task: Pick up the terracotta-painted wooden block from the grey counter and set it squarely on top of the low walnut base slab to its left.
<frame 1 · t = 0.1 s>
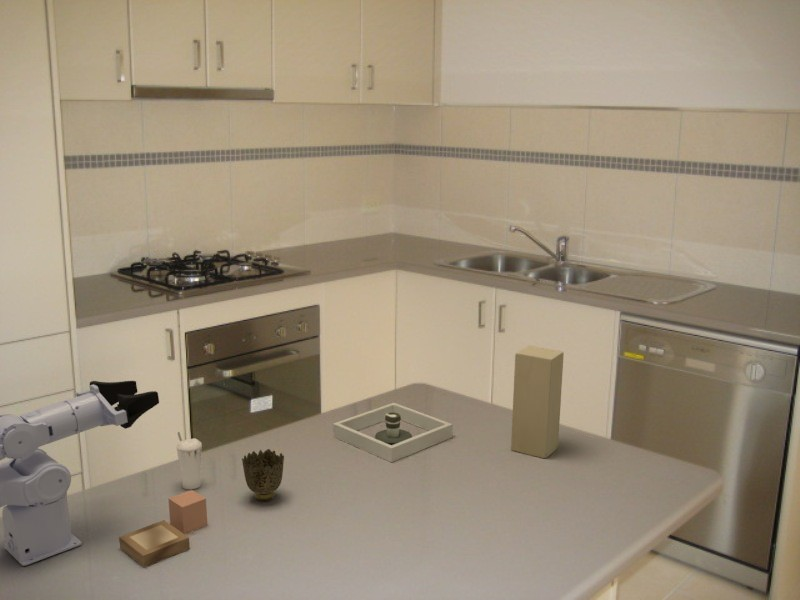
hand: (146, 391, 146), 22 cm above the countertop, tool horizontal, fingers open, 7 cm apart
block: (188, 525, 145), on the countertop
toy refrigerator: (535, 449, 176), on the countertop
base slab: (154, 548, 137), on the countertop
milkshake: (190, 486, 160), on the countertop
cup: (264, 499, 154), on the countertop
cup tray: (392, 437, 182), on the countertop
coffee cup: (392, 437, 182), resting in cup tray
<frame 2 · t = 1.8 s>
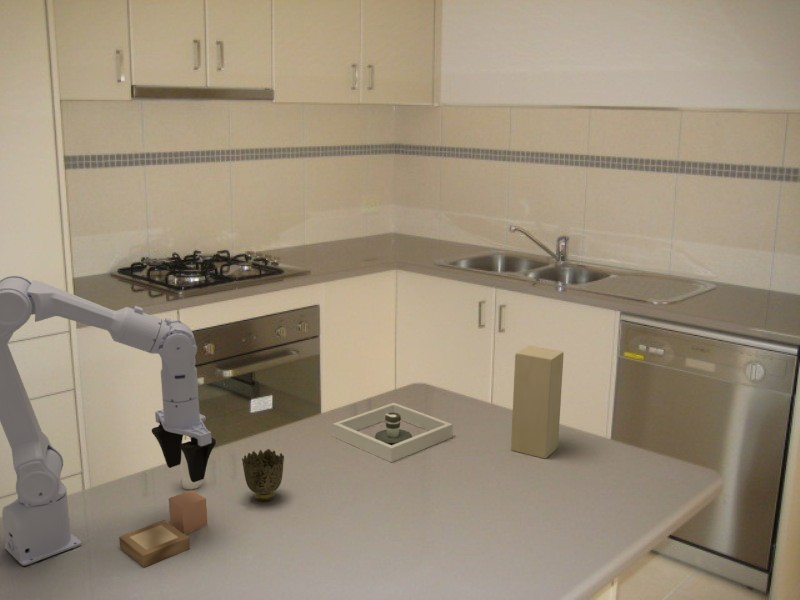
hand: (185, 472, 143), 10 cm above the countertop, tool pointing down, fingers open, 7 cm apart
nothing on the countertop moved.
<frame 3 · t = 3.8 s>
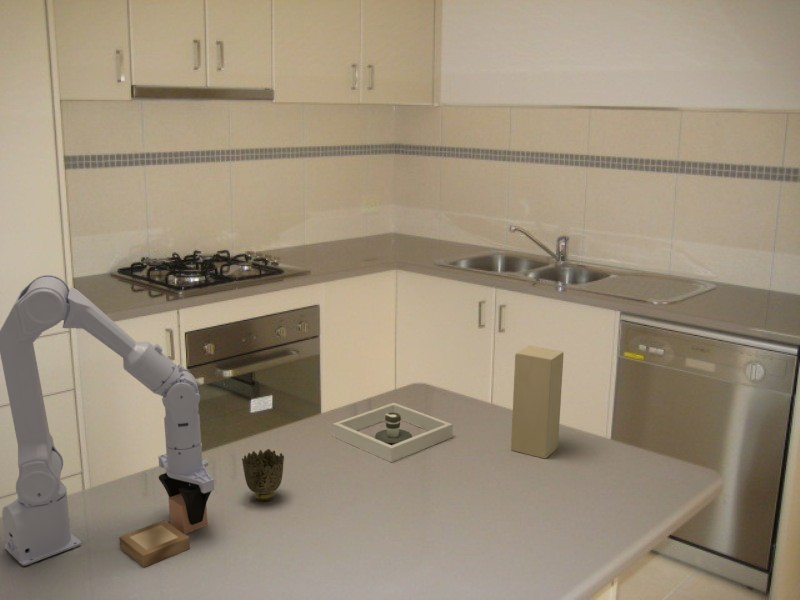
hand: (188, 517, 145), 1 cm above the countertop, tool pointing down, fingers closed on block, 4 cm apart
block: (188, 524, 145), on the countertop, touching gripper
everything else where it was.
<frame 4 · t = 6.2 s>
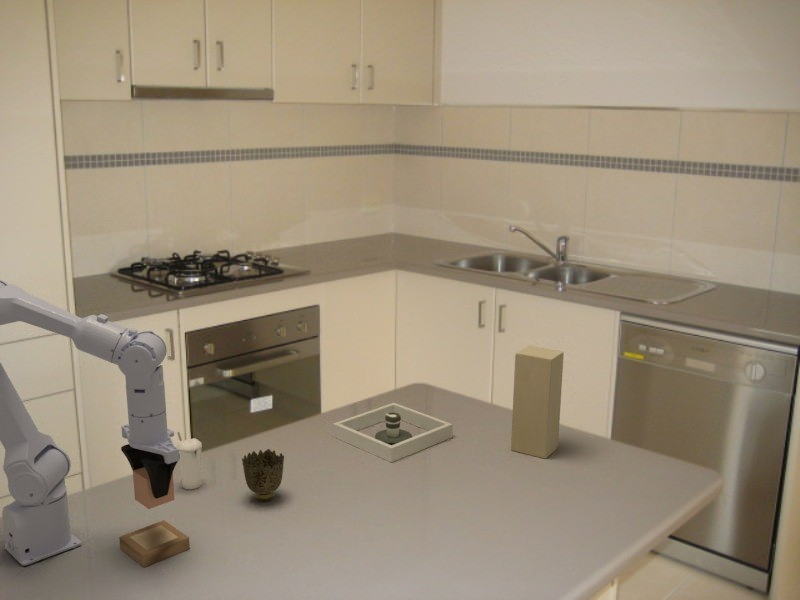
hand: (152, 490, 136), 10 cm above the countertop, tool pointing down, fingers closed on block, 4 cm apart
block: (154, 499, 136), point 8 cm above the countertop, touching gripper
everything else where it was.
when the fingers open (4 cm above the countertop, at t = 8.7 s): block stays where it is, resting on base slab.
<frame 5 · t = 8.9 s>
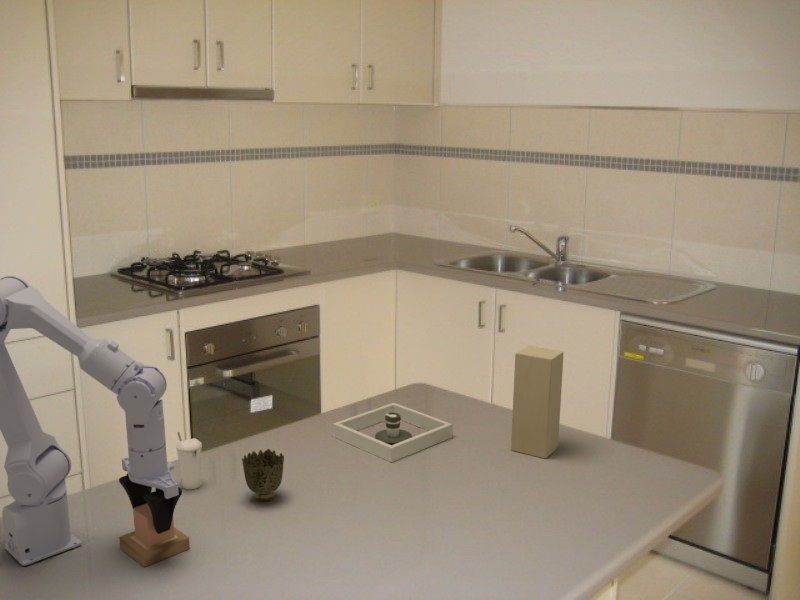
hand: (152, 523, 136), 4 cm above the countertop, tool pointing down, fingers open, 6 cm apart
block: (154, 536, 137), point 2 cm above the countertop, touching base slab
everything else where it was.
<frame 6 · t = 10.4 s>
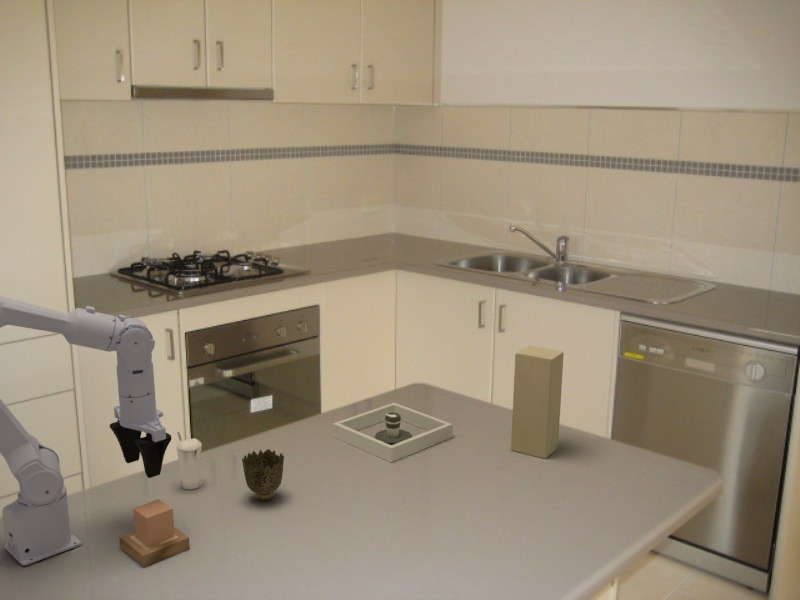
hand: (142, 468, 142), 10 cm above the countertop, tool pointing down, fingers open, 7 cm apart
nothing on the countertop moved.
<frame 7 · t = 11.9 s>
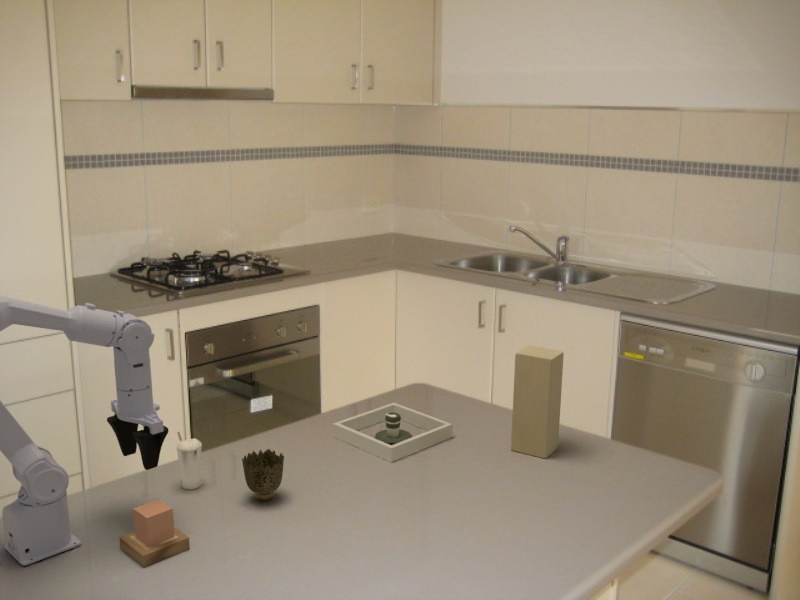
hand: (140, 460, 145), 10 cm above the countertop, tool pointing down, fingers open, 7 cm apart
nothing on the countertop moved.
at the end: block 0.2 cm off-centre on the base slab, point 2.0 cm above the base slab's base; block tilted 0°; the gripper is holding nothing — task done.
